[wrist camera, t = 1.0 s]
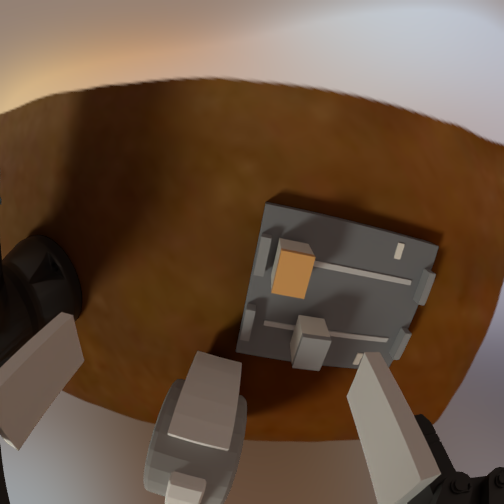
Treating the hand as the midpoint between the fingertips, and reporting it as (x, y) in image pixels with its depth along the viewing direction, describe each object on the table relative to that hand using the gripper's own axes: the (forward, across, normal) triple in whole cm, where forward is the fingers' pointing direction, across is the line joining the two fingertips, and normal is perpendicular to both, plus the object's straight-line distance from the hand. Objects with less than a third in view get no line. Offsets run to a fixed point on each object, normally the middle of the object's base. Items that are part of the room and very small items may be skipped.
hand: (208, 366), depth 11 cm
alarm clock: (+21, -3, -22) cm, 31 cm away
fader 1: (+18, +5, -1) cm, 19 cm away
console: (+20, +12, -5) cm, 24 cm away
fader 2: (+18, +8, -9) cm, 22 cm away
